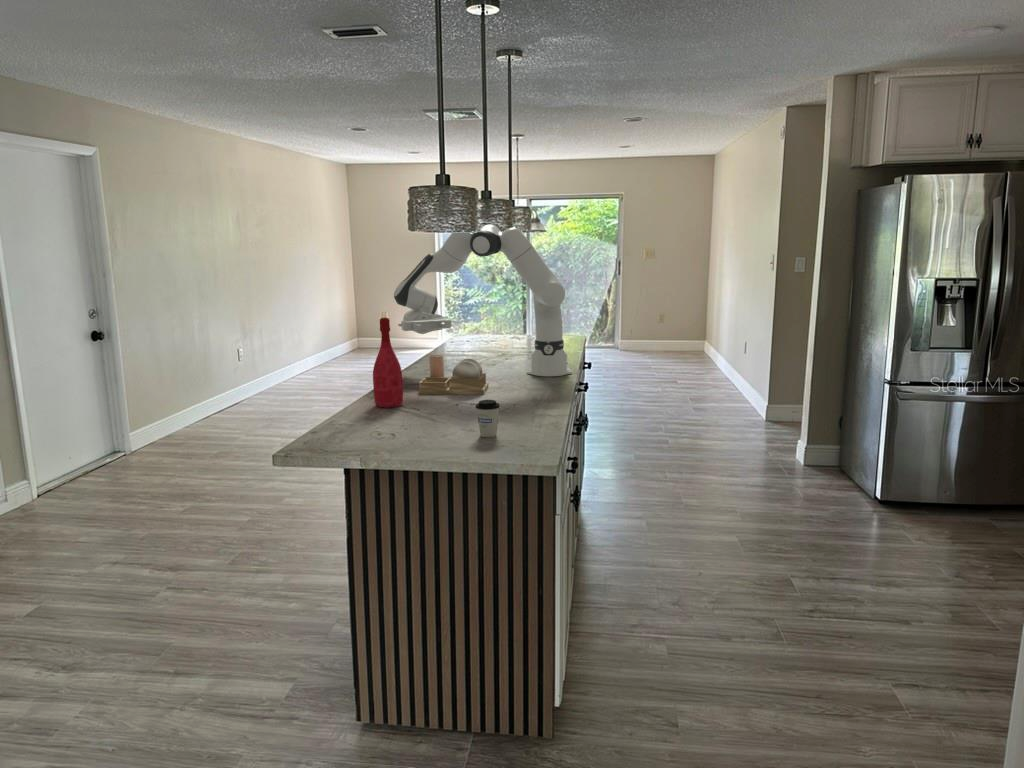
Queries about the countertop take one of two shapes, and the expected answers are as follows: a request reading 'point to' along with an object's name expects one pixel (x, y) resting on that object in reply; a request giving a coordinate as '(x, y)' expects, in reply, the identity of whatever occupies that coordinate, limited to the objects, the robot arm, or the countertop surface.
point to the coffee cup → (488, 417)
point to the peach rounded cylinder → (436, 365)
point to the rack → (457, 380)
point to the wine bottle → (387, 372)
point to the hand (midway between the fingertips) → (431, 326)
